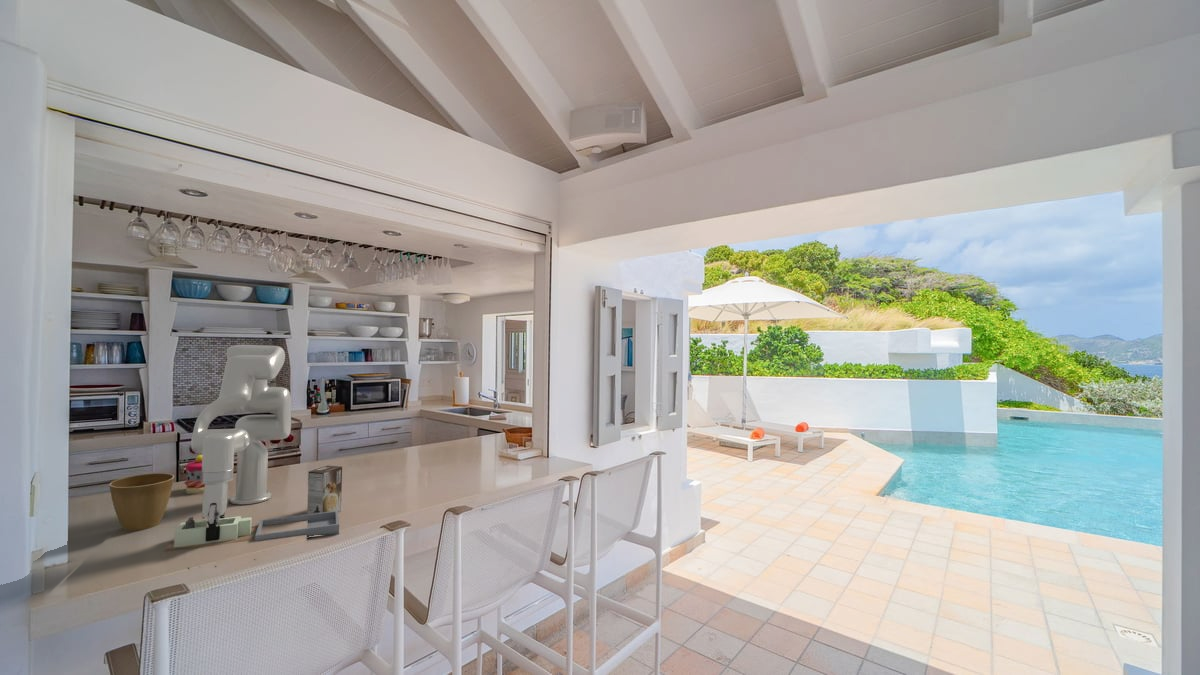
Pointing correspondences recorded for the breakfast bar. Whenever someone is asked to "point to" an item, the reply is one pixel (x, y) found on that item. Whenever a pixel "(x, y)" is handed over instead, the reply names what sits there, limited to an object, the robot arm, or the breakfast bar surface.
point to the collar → (197, 535)
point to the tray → (316, 526)
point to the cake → (194, 477)
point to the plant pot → (141, 499)
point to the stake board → (191, 525)
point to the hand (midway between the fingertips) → (215, 534)
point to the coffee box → (324, 489)
